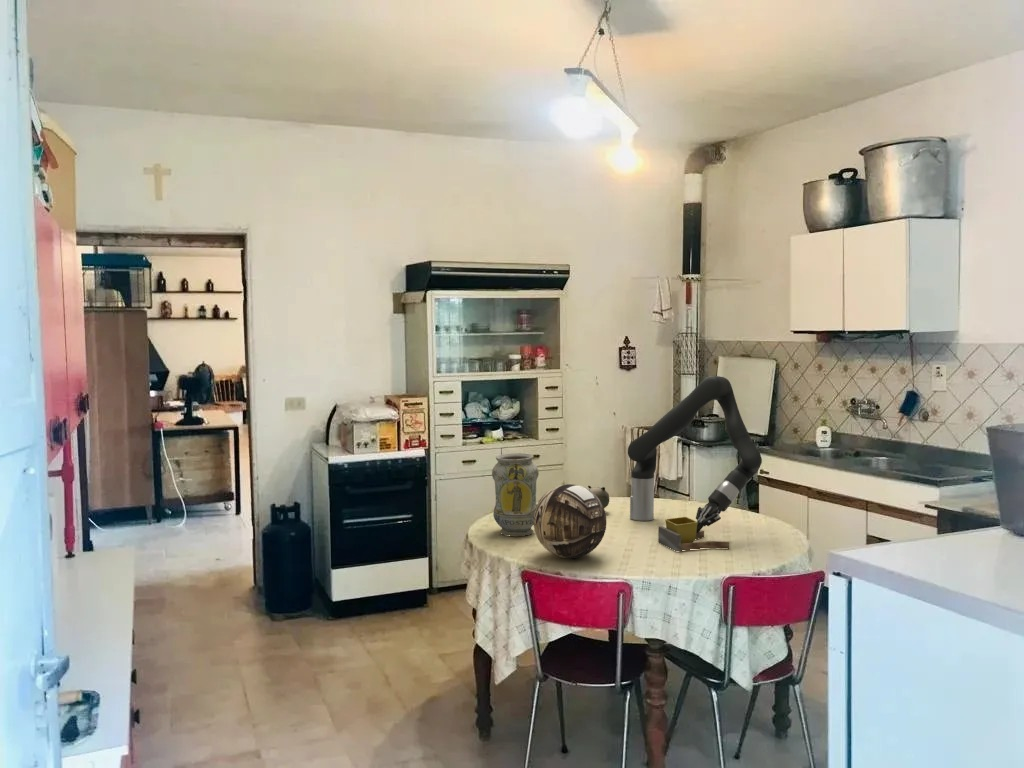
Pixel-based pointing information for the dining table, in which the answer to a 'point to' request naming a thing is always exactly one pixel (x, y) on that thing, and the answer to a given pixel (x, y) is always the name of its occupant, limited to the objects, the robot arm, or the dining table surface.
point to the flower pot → (683, 528)
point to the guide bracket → (674, 542)
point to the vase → (515, 493)
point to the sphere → (569, 521)
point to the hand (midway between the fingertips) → (694, 531)
